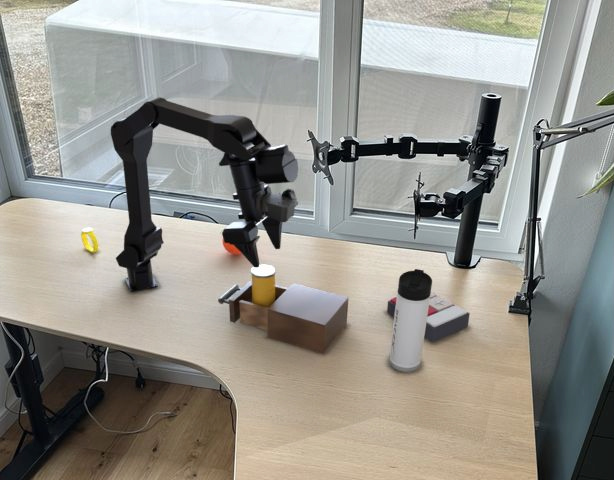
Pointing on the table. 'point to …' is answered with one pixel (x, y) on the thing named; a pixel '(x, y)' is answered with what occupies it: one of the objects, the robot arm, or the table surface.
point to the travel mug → (410, 320)
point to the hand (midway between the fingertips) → (267, 257)
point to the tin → (263, 285)
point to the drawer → (247, 305)
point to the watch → (93, 238)
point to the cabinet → (307, 317)
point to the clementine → (231, 248)
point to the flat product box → (439, 317)
